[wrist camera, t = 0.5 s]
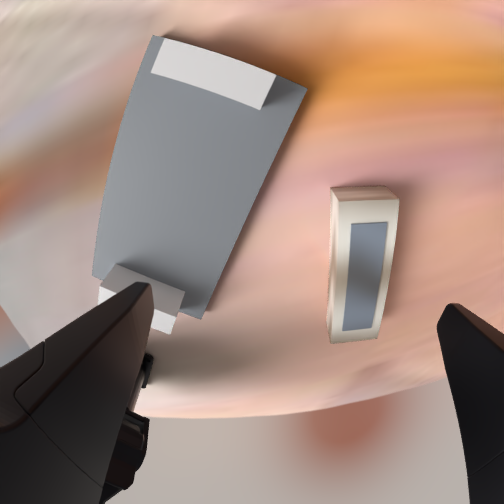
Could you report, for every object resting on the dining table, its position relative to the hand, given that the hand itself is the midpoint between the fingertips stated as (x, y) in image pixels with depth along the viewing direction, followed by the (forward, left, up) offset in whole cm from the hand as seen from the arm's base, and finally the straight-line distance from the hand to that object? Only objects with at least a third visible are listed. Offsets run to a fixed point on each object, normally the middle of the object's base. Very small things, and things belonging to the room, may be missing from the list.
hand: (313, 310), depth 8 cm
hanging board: (-4, +6, -13) cm, 15 cm away
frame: (-4, -8, -13) cm, 16 cm away
